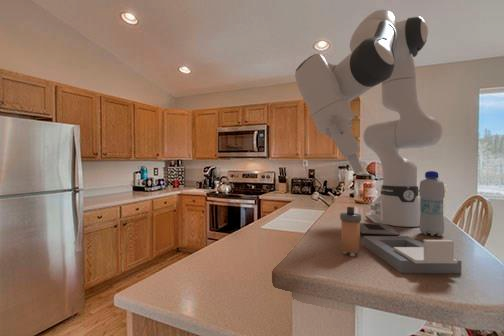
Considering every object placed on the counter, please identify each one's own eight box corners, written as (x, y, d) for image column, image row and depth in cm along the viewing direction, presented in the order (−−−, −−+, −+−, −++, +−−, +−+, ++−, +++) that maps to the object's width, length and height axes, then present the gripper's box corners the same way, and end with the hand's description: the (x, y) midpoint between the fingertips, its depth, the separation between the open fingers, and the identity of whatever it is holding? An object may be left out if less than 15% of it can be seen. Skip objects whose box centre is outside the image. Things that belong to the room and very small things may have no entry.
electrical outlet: (399, 241, 74) (399, 232, 74) (361, 239, 76) (361, 231, 76) (385, 230, 87) (385, 223, 87) (352, 228, 89) (352, 221, 89)
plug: (337, 250, 64) (337, 205, 64) (356, 250, 64) (356, 205, 64) (344, 257, 59) (344, 208, 59) (364, 257, 59) (364, 208, 59)
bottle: (446, 238, 74) (446, 171, 74) (419, 235, 78) (419, 171, 78) (443, 233, 80) (443, 170, 80) (418, 230, 84) (418, 170, 84)
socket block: (363, 245, 69) (363, 236, 69) (407, 245, 68) (407, 236, 68) (400, 273, 51) (400, 260, 51) (461, 273, 50) (461, 261, 50)
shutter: (393, 249, 57) (393, 229, 57) (429, 249, 57) (429, 229, 57) (419, 265, 48) (419, 241, 48) (461, 265, 48) (461, 241, 48)
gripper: (347, 105, 50) (378, 169, 48) (346, 118, 69) (368, 164, 68) (317, 120, 52) (346, 182, 50) (324, 129, 71) (345, 174, 70)
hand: (359, 172), depth 59 cm, fingers closed
